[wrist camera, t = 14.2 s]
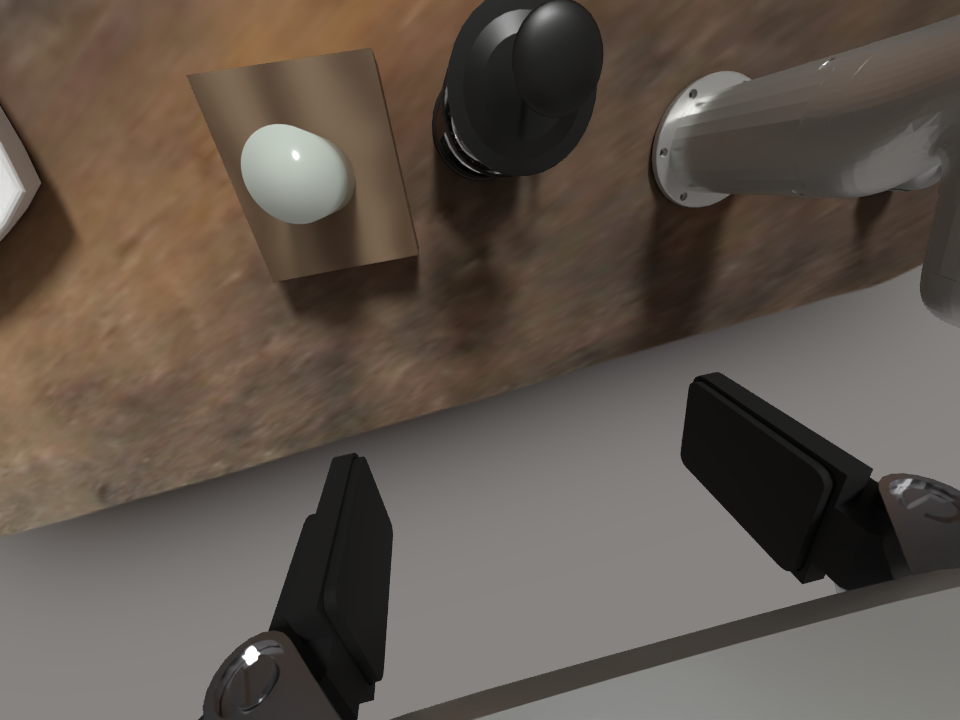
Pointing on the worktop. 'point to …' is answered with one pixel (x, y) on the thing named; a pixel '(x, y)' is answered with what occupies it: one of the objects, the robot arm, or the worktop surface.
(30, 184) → the pan
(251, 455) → the worktop surface
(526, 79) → the french press
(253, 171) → the white rounded capsule
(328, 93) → the brown wooden block
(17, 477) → the worktop surface
